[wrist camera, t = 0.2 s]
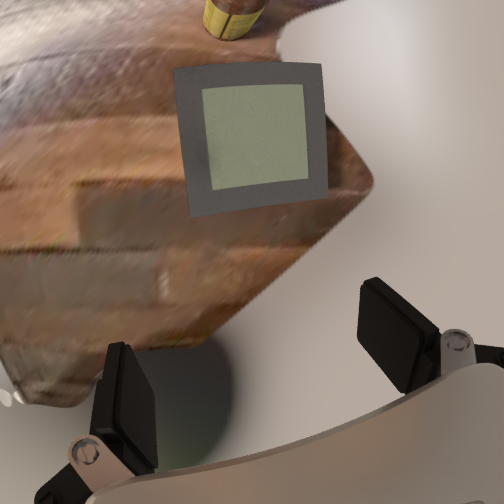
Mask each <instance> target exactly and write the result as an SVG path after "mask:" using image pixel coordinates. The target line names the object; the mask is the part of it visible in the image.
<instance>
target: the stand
mask: <svg viewBox="0 0 504 504" xmlns="http://www.w3.org/2000/svg"><path fill="white" fill-rule="evenodd" d="M174 85H175V96H176V106H177V116H178V125H179V134H180V143H181V151H182V159H183V167H184V175H185V182H186V189H187V196H188V203H189V210H190V215H191V218H192V217H198V216H204V215H210V214H217V213H223V212H229V211H236V210H242V209H249V208H256V207H263V206H270V205H277V204H284V203H292V202H299V201H307V200H315V199H323V198H328V163H327V138H326V119H325V103H324V90H323V80H322V67H321V64H316V63H297V62H296V63H295V62H245V63H226V64H212V65H201V66H192V67H183V68H176V69H174Z"/></svg>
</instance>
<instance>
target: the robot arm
mask: <svg viewBox="0 0 504 504" xmlns="http://www.w3.org/2000/svg"><path fill="white" fill-rule="evenodd" d="M357 338H358V341H359V342H360V344H361V345H362V346H363V347H364V349H365V350H366V351H367V352H368V353H369V355H370V356H371V357H372V358H373V360H374V361H375V362H376V363H377V365H378V366H379V367H380V368H381V369H382V371H383V372H384V373H385V374H386V376H387V377H388V378H389V380H390V381H391V382H392V383H393V385H394V386H395V387H396V388H397V390H398V391H399V392H400V393H404V394H405V396H403V397H401V398H399V399H397V400H395V401H393V402H391V403H389V404H387V405H385V406H383V407H381V408H379V409H376V410H374V411H372V412H370V413H368V414H365V415H363V416H361V417H359V418H356V419H354V420H352V421H349V422H347V423H344V424H342V425H340V426H337V427H334V428H332V429H329V430H327V431H324V432H321V433H319V434H316V435H313V436H310V437H307V438H305V439H301V440H298V441H295V442H292V443H289V444H286V445H283V446H279V447H276V448H273V449H269V450H266V451H262V452H258V453H255V454H251V455H247V456H243V457H239V458H235V459H230V460H226V461H221V462H217V463H211V464H206V465H201V466H195V467H190V468H185V469H178V470H171V471H164V472H158V473H155V472H154V469H155V468H158V456H157V444H156V443H157V441H156V423H155V422H156V421H155V396H154V392H153V390H152V388H151V386H150V384H149V382H148V380H147V378H146V376H145V375H144V373H143V371H142V369H141V367H140V365H139V363H138V361H137V359H136V357H135V355H134V353H133V351H132V349H131V347H130V345H129V344H127V345H125V343H124V342H117V343H111V344H109V345H108V350H107V355H106V360H105V365H104V371H103V377H102V379H99V380H98V382H97V386H96V391H95V398H94V404H93V410H92V418H91V426H90V433H89V435H83V436H80V437H78V438H76V439H75V440H74V441H73V442H72V443H71V445H70V447H69V449H68V459H69V461H70V463H69V464H68V465H66V466H65V467H64V468H63V469H62V470H61V471H59V472H58V473H57V474H56V475H55V476H54V477H53V478H51V480H49V481H48V482H47V483H46V484H44V485H43V486H42V487H41V488H40V489H39V490H38V491H37V493H36V495H35V498H34V504H504V348H503V347H494V346H485V345H477V344H474V342H473V339H472V337H471V336H470V335H469V334H468V333H467V332H465V331H462V330H460V329H449V330H447V331H445V332H444V333H443V334H441V333H440V332H439V328H438V327H436V326H435V325H434V324H433V323H432V322H431V321H430V320H428V319H427V318H426V317H425V316H424V315H423V314H422V313H420V312H419V311H418V310H417V309H416V308H415V307H413V306H412V305H411V304H410V303H409V302H407V301H406V300H405V299H404V298H403V297H402V296H400V295H399V294H398V293H397V292H396V291H394V290H393V289H392V288H391V287H389V286H388V285H387V284H386V283H385V282H383V281H382V280H381V279H380V278H378V277H374V278H371V279H368V280H365V281H364V283H363V285H361V288H360V302H359V316H358V327H357Z"/></svg>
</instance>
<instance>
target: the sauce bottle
mask: <svg viewBox="0 0 504 504" xmlns="http://www.w3.org/2000/svg"><path fill="white" fill-rule="evenodd" d="M268 2H269V0H207V1H206V6H205V11H204V16H203V22H204V25H205V29H206V31H207V32H208V33H209V34H210V35H211V36H213V37H214V38H217V39H218V40H221V41H231V40H236V39H239V38H241V37H242V36H243V35H244V34H246V33H247V32H248V31H249V30H250V28H251V27H252V25H253V24H254V22H255V21H256V20H257V18H258V17H259V15H260V14H261V13H262V11H263V10H264V8H265V7H266V5H267V4H268Z"/></svg>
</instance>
